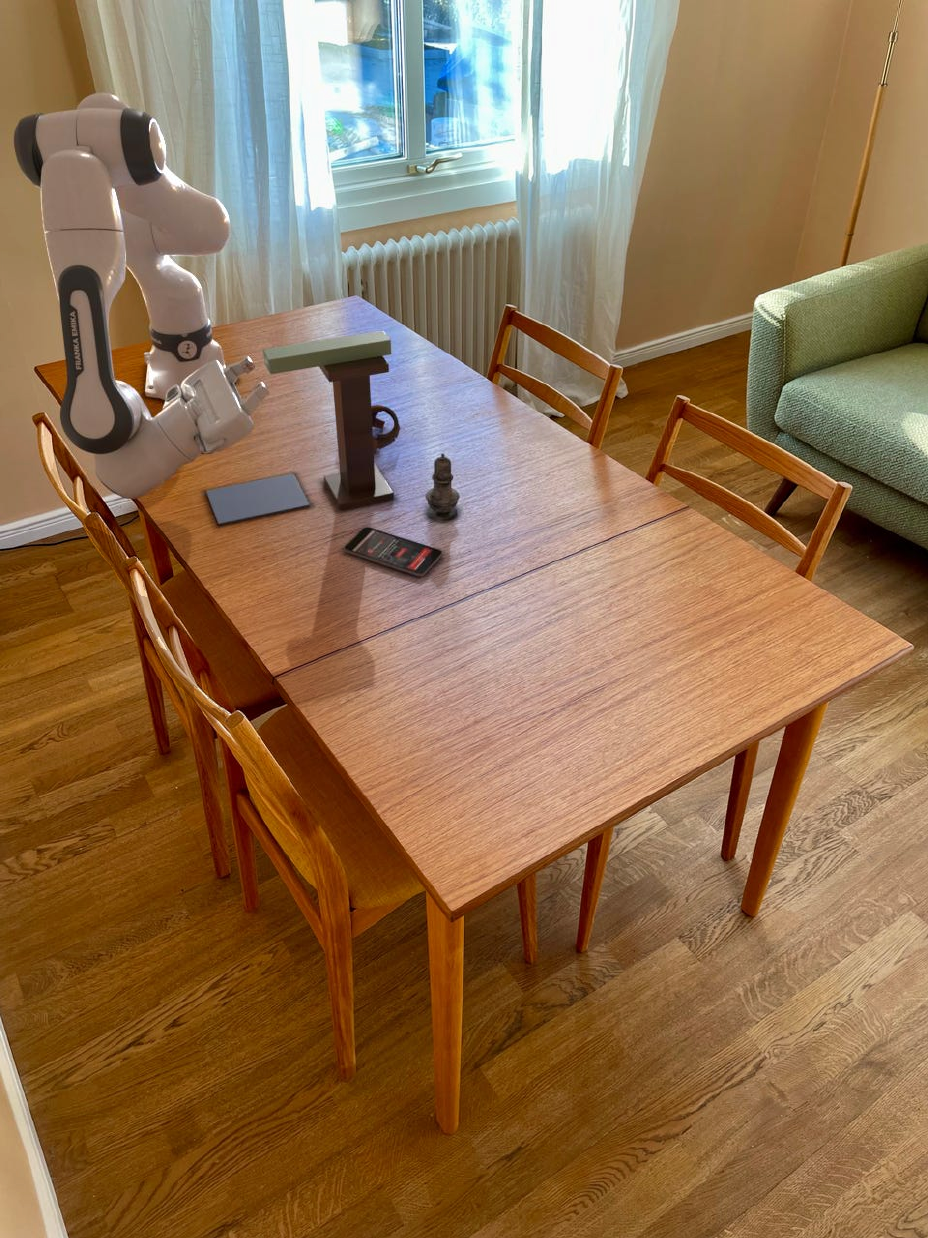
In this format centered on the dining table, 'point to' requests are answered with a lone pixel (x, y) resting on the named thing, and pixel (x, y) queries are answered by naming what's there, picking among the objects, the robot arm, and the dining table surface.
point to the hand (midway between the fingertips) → (258, 373)
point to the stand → (355, 435)
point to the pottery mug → (386, 438)
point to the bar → (326, 352)
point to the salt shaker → (442, 492)
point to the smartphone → (393, 551)
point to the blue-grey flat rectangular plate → (256, 499)
